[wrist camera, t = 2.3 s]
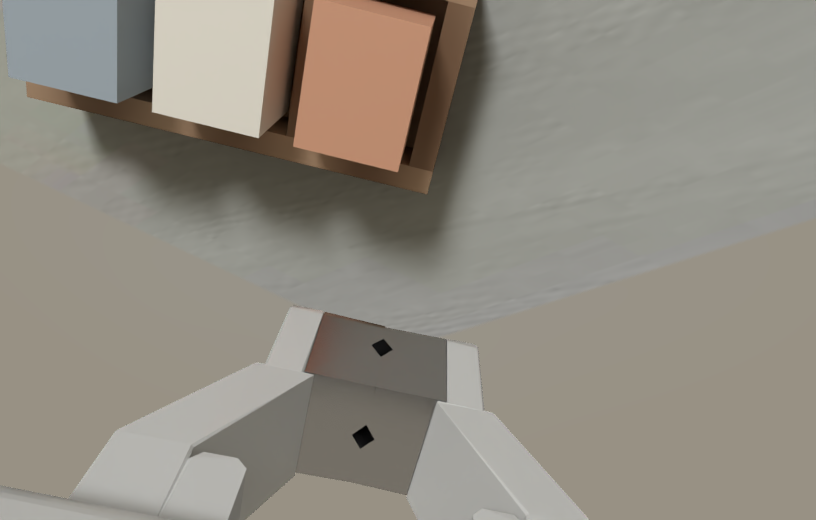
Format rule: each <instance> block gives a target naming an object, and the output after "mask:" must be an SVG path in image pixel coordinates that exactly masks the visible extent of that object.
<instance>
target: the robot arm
mask: <svg viewBox="0 0 816 520" xmlns="http://www.w3.org/2000/svg"><path fill="white" fill-rule="evenodd" d="M295 472H296V473H302V474H308V475H313V476H319V477H324V478H330V479H336V480H342V481H347V482H353V483H357V484H361V485H365V486H370V487H374V488H378V489H383V490H387V491H391V492H395V493H400V494H404V495H407V497H406V498H407V500H408V502H409V504H410V506H411V508H412V510H413V512H414V514H415V516H416V518H417V520H589V519H588V518H587V516H586V515H585V514H584V513H583V512H582V511H581V510H580V508H578V506H577V505H576V504H575V503H574V502H573V501H572V500H571V498H570V497H569V496H568V495H567V494H566V493H565V492H564V491H563V490H562V489H561V487H560V486H559V485H558V484H557V483H556V482H555V481H554V480H553V479H552V477H551V476H550V475H549V474H548V473H547V472H546V471H545V470H544V469H543V467H542V466H541V465H540V464H539V463H538V462H537V461H536V460H535V459H534V458H533V456H532V455H531V454H530V453H529V452H528V451H527V450H526V449H525V447H524V446H523V445H521V443H520V442H519V441H518V440H517V439H516V438H515V436H514V435H513V434H512V433H511V432H510V431H509V430H508V429H507V428H506V426H505V425H504V424H503V423H502V422H501V421H500V420H499V419H498V418H497V416H496V415H495V414H494V413H492V412H487V411H484V403H483V392H482V382H481V372H480V363H479V351H478V347H477V346H476V345H475V344H471V343H466V342H460V341H455V340H449V339H442V338H437V337H432V336H427V335H422V334H417V333H412V332H406V331H401V330H396V329H391V328H386V327H385V326H382V325H377V324H373V323H369V322H365V321H361V320H357V319H352V318H348V317H344V316H340V315H336V314H332V313H328V312H325V313H323V311H320V310H315V309H310V308H306V307H301V306H296V305H293V306H292V307H291V308H290V309H289V311H288V313H287V315H286V318H285V320H284V322H283V325H282V327H281V329H280V331H279V334H278V336H277V338H276V341H275V343H274V345H273V347H272V350H271V352H270V354H269V356H268V359H267V361H266V363H265V364H262V363H257V362H256V363H253V364H251V365H249V366H247V367H245V368H243V369H241V370H239V371H237V372H235V373H233V374H231V375H229V376H227V377H225V378H223V379H221V380H218V381H216V382H214V383H212V384H210V385H208V386H206V387H204V388H202V389H200V390H198V391H196V392H194V393H192V394H190V395H188V396H186V397H184V398H181V399H179V400H177V401H175V402H173V403H171V404H169V405H167V406H165V407H163V408H161V409H159V410H157V411H155V412H153V413H151V414H149V415H147V416H144V417H143V418H140V419H138V420H136V421H134V422H132V423H130V424H128V425H126V426H124V427H122V428H120V429H118V430H116V431H115V432H114V434H113V435H112V437H111V438H110V440H109V441H108V443H107V444H106V445H105V447H104V448H103V450H102V451H101V452H100V454H99V455H98V457H97V458H96V460H95V461H94V463H93V464H92V465H91V467H90V468H89V470H88V471H87V473H86V474H85V475H84V477H83V478H82V480H81V481H80V483H79V484H78V485H77V487H76V488H75V490H74V491H73V493H72V494H71V495H70V497H69V498H68V499H67V498H61V497H56V496H51V495H46V494H41V493H36V492H31V491H25V490H21V489H16V488H11V487H6V486H0V520H245V519H246V518H248V517H249V516H250V515H251V514H252V513H253V512H254V511H255V510H257V509H258V508H259V507H260V506H261V505H262V504H263V503H264V502H266V501H267V500H268V499H269V498H270V497H271V496H272V495H273V494H274V493H276V492H277V491H278V490H279V489H280V488H281V487H282V486H284V485H285V483H287V482H288V481H289V480H290V479H291V478H293V477H294V476H295Z"/></svg>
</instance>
